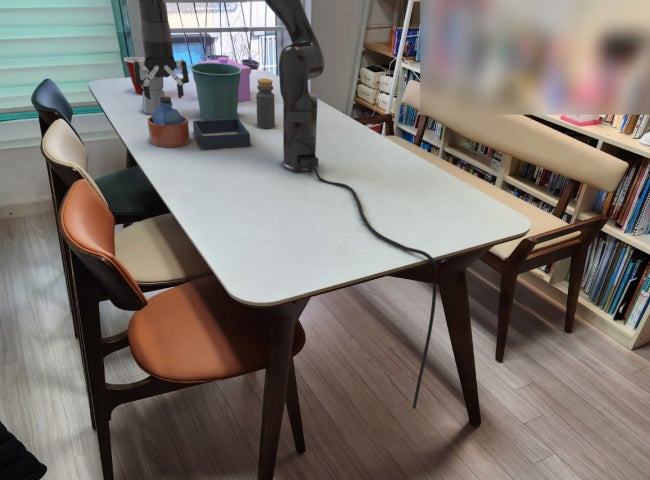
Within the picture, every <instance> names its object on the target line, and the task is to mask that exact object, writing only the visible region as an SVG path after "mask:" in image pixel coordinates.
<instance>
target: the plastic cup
mask: <svg viewBox="0 0 650 480" xmlns="http://www.w3.org/2000/svg"><path fill="white" fill-rule="evenodd" d="M134 60H137V61H144V60H145V57H144V56H143V57H142V56H141V57H140V56H126V57H124V58H123V61H124V63H125V65H126V67H127V70H128V73H129V76H130V79H131V83H132V85H133V88H134V91H135V93H136V94H137V95H143V91H144V89H142V86H141V85H140V84H137V83H136V81H135V73H134V63H133V61H134Z"/></svg>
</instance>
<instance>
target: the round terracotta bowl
mask: <svg viewBox="0 0 650 480" xmlns="http://www.w3.org/2000/svg"><path fill="white" fill-rule="evenodd" d="M180 115H181V116H182V118H183V123H180V124H176V125H158V124H154V123H153V115H150V116H148V117H147V119H146V121H147V127H148V134H149V140H150V143H151V144H152V145H154V146H157V147H162V148H178V147H182V146H186V145H187V144H189V143H190V141H191V136H190V127H189V118H188V117H186V116H185V115H182V114H180Z"/></svg>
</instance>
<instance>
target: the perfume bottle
mask: <svg viewBox="0 0 650 480" xmlns="http://www.w3.org/2000/svg"><path fill="white" fill-rule="evenodd" d="M160 106H161V108H158V109H156V111H155V113H154V115H152V116H153V123H154V124H158V125H176V124H180V123H183V118H182V116H183V115H182V114H181V113H180V112H179V111H178V109H175V108H173V101H172V97H171V96H166V95H165V96H163V97H160ZM181 115H182V116H181Z"/></svg>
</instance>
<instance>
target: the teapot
mask: <svg viewBox="0 0 650 480" xmlns="http://www.w3.org/2000/svg"><path fill="white" fill-rule="evenodd" d="M198 63H224V64H230V65H234V66H237V67H239V68H241V69H242V72H241V73H240V83H239V89H238V102H244V101H251V77H250V75H251V73H252V68H251V66H249V65H244V64H242V63H239V62H238V61H235V60H234V59H231V58H228V57H224V56H219V57H217V59H210V60H209V59H208V60H198V61H197V64H198ZM191 66H192V65H188V66H187V68H190V67H191Z"/></svg>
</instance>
